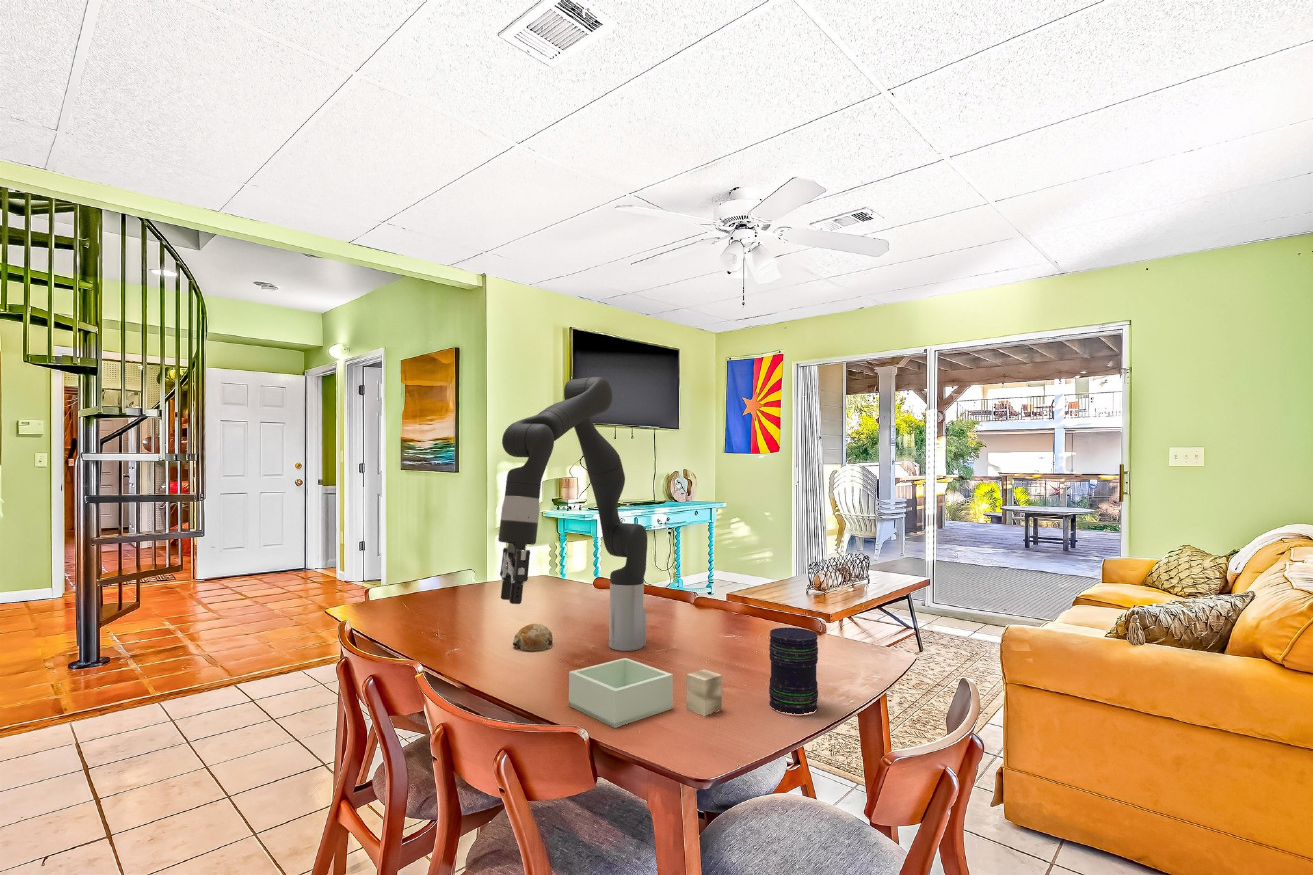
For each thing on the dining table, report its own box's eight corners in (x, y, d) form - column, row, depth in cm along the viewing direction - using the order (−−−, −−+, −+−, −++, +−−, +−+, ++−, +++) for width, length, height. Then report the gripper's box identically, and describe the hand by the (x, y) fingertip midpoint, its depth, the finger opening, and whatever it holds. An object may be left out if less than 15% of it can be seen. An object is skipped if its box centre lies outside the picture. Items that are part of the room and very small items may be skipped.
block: (703, 703, 134) (703, 669, 135) (721, 710, 131) (721, 675, 131) (686, 709, 131) (686, 674, 131) (704, 716, 127) (704, 680, 128)
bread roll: (541, 666, 169) (554, 638, 170) (506, 649, 170) (519, 621, 170) (548, 655, 179) (561, 629, 179) (515, 638, 180) (527, 612, 180)
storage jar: (774, 695, 139) (775, 625, 140) (821, 702, 136) (821, 630, 136) (764, 711, 130) (764, 636, 131) (813, 719, 126) (813, 642, 127)
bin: (625, 689, 142) (625, 657, 143) (672, 708, 131) (672, 674, 132) (568, 705, 132) (569, 671, 132) (614, 728, 121) (615, 691, 121)
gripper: (546, 521, 127) (537, 606, 124) (529, 521, 140) (521, 598, 137) (508, 517, 124) (498, 604, 121) (494, 518, 137) (485, 597, 134)
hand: (510, 601), depth 129 cm, fingers open, 8 cm apart
